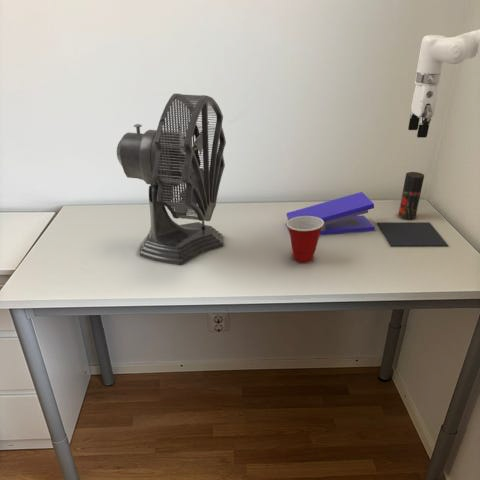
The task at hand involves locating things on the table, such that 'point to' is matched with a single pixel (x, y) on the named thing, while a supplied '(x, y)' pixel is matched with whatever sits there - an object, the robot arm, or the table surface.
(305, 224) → the plastic cup
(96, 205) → the table surface
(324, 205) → the stapler
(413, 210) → the deodorant
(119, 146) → the desk fan
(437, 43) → the robot arm
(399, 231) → the mat
